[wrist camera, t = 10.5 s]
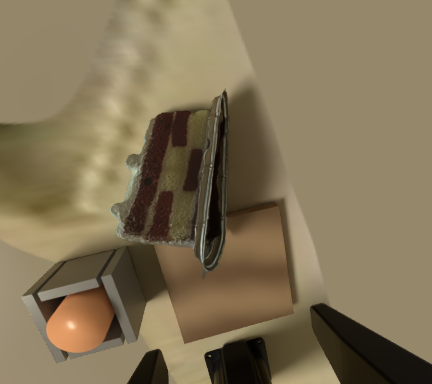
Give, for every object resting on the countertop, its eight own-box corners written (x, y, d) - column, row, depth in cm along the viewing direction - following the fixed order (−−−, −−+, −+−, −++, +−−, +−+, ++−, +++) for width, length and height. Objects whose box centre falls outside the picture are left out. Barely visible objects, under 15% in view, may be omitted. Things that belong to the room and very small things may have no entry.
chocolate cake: (132, 81, 16) (28, 233, 9) (228, 77, 15) (187, 252, 8) (170, 168, 24) (128, 285, 17) (236, 171, 22) (218, 299, 16)
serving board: (289, 305, 23) (293, 313, 22) (184, 334, 22) (184, 343, 21) (274, 202, 20) (279, 205, 19) (152, 231, 19) (150, 236, 18)
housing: (146, 302, 21) (136, 341, 17) (81, 319, 20) (56, 363, 16) (126, 246, 19) (111, 274, 15) (55, 263, 19) (20, 297, 15)
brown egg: (129, 299, 20) (114, 344, 16) (87, 310, 20) (59, 358, 15) (116, 263, 19) (95, 300, 15) (70, 274, 19) (36, 315, 14)
